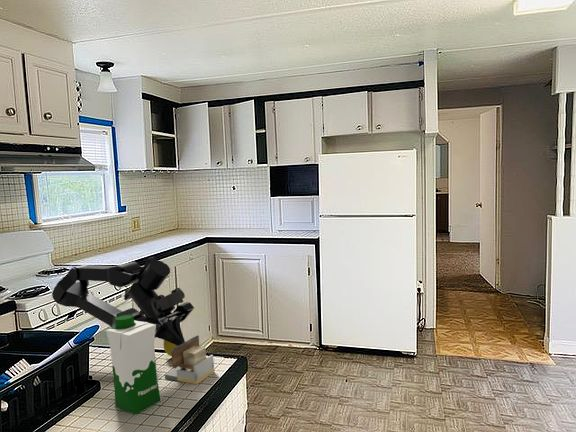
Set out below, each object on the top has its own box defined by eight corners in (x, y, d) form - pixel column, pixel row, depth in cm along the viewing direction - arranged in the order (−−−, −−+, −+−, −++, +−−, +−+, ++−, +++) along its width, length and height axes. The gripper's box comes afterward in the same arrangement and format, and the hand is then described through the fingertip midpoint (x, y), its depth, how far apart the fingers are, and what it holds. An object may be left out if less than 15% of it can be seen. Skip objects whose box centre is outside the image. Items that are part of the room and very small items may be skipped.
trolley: (173, 378, 112) (171, 348, 111) (198, 362, 120) (196, 335, 120) (190, 381, 109) (187, 351, 109) (214, 365, 118) (212, 337, 117)
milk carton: (140, 391, 108) (133, 310, 106) (167, 399, 103) (160, 314, 101) (109, 408, 100) (100, 321, 99) (136, 418, 96) (127, 326, 94)
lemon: (181, 360, 125) (179, 333, 125) (162, 361, 125) (159, 334, 125) (186, 353, 131) (184, 326, 130) (167, 354, 131) (165, 327, 130)
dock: (165, 378, 115) (163, 361, 114) (184, 366, 121) (182, 350, 121) (196, 384, 110) (195, 366, 110) (214, 371, 117) (213, 355, 116)
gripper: (136, 289, 108) (175, 339, 104) (186, 273, 125) (221, 315, 121) (115, 318, 112) (152, 367, 108) (166, 298, 129) (200, 340, 125)
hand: (184, 346), depth 116 cm, fingers closed, pressing on trolley
